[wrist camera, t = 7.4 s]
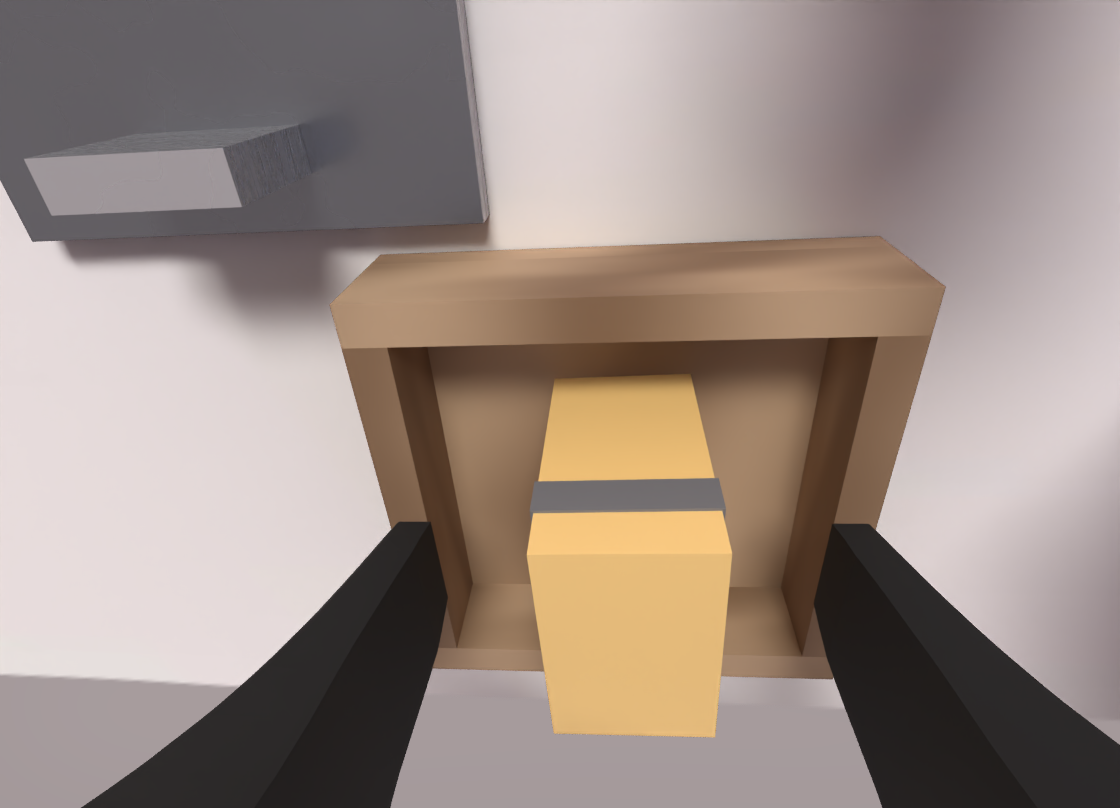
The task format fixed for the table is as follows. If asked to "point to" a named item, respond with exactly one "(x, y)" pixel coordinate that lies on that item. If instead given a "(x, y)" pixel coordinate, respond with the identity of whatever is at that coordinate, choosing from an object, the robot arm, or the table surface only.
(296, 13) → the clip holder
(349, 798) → the robot arm
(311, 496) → the table surface
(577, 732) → the block
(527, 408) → the tray
